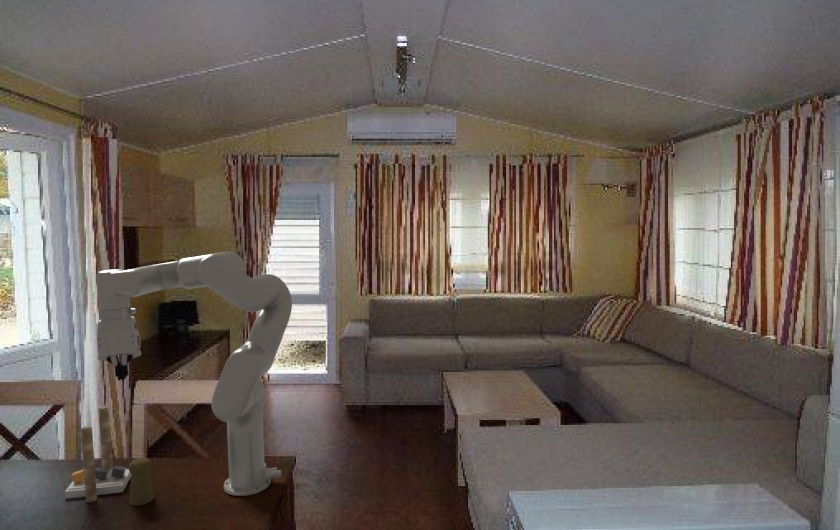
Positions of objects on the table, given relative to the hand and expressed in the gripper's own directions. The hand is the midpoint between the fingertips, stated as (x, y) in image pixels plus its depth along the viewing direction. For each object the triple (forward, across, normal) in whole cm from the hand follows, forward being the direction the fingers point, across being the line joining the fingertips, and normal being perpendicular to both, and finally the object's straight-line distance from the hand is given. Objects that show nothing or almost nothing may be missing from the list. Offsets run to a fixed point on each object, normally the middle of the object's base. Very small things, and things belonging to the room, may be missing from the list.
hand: (122, 378), depth 159 cm
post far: (+30, +8, -6) cm, 31 cm away
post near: (+30, +8, +9) cm, 32 cm away
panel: (+30, +8, +2) cm, 31 cm away
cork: (+30, -5, +12) cm, 33 cm away
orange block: (+27, +12, +1) cm, 30 cm away
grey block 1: (+28, +8, +2) cm, 29 cm away
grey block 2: (+28, +4, +2) cm, 28 cm away
